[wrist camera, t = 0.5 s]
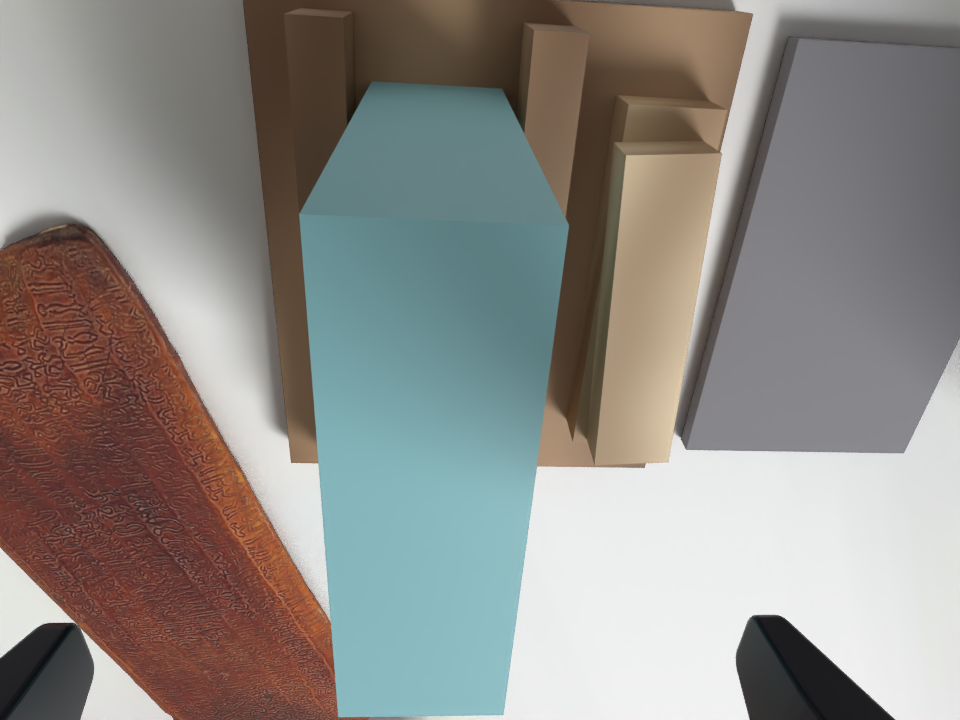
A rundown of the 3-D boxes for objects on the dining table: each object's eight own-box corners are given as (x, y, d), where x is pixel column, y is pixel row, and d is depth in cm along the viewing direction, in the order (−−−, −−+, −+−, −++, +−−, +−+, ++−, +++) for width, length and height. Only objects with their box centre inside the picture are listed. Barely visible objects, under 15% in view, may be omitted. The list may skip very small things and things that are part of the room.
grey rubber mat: (1076, 55, 18) (1095, 58, 17) (894, 442, 25) (903, 453, 24) (788, 36, 17) (799, 38, 17) (680, 439, 24) (686, 449, 23)
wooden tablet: (-201, 283, 20) (-251, 308, 19) (108, 197, 19) (81, 216, 18) (203, 757, 34) (192, 792, 32) (395, 718, 33) (393, 753, 31)
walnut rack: (736, 10, 17) (790, 20, 14) (637, 449, 24) (661, 508, 22) (251, -23, 16) (215, -19, 13) (296, 444, 23) (278, 504, 21)
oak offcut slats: (717, 101, 17) (757, 121, 15) (644, 420, 22) (666, 469, 20) (608, 94, 17) (633, 114, 15) (559, 419, 22) (573, 468, 20)
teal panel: (502, 88, 17) (568, 224, 8) (477, 417, 22) (503, 715, 13) (372, 81, 16) (298, 213, 8) (378, 415, 22) (338, 717, 13)
